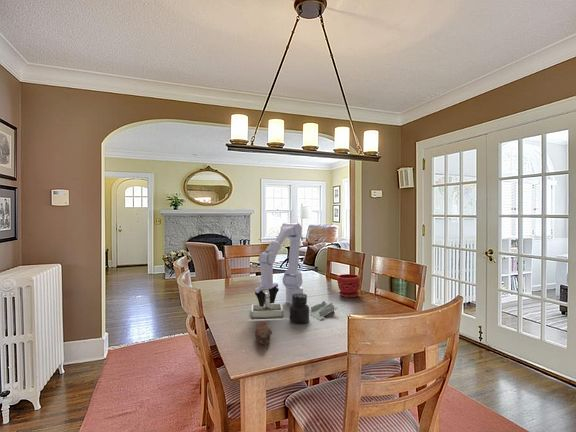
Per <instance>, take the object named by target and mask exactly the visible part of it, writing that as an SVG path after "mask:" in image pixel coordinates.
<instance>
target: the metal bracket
mask: <svg viewBox="0 0 576 432" xmlns="http://www.w3.org/2000/svg"><path fill="white" fill-rule="evenodd" d="M336 310H338V307H337V306H335V305H333V303H332V302H331V303H327V302H326V301H325V300H323V301H322V302H321V303H317V304H315V305H313V306H311V308H310V309H309V316H310V317H312V316H313V317H312V318H314V319H315V318H316V320H317V321H319V320H320V321H322V320H324V319H325V317H324V316H327V315H329V314H330V313H333V314H334V313H335V311H336Z"/></svg>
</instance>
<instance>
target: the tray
mask: <svg viewBox="0 0 576 432" xmlns="http://www.w3.org/2000/svg"><path fill="white" fill-rule="evenodd" d="M262 308H263V307H261V306H260V305H259V303H252V304H251V313H250V314H251V318H253V320H261V319H262V320H263V319H267V320H268V319H271V317H281V319H284V308H283V304H282V303H280V302H279V303H278V302H276V303H275V302H274V304H270V308H271V311H262Z"/></svg>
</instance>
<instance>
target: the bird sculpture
mask: <svg viewBox="0 0 576 432" xmlns="http://www.w3.org/2000/svg"><path fill="white" fill-rule="evenodd" d="M254 335H255V338H256V340H257V342H258V343H260V344H262V345H264V347H265V348H267V343H269V341H270V340H271V335H273V332H272V329H271V328H270V327H268V325H267V324H266V321H261V322H260V323H258V324H257V325H256V329H255V333H254Z"/></svg>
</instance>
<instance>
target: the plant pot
mask: <svg viewBox="0 0 576 432" xmlns="http://www.w3.org/2000/svg"><path fill="white" fill-rule="evenodd" d="M336 280H337V281H336V282H337V287H338V289H339V293H338V294H339V295H340V296H342V297H344V298H356V297H358V296H359V295H360V292H359V288H360V284H361V278H360V275H359V274H355V273H354V274H353V273H346V274H344V273H343V274H338V275H337V278H336Z"/></svg>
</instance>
